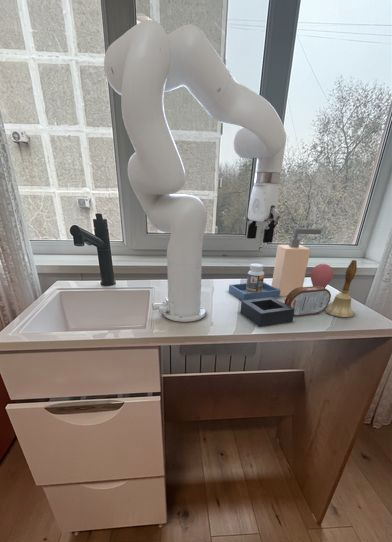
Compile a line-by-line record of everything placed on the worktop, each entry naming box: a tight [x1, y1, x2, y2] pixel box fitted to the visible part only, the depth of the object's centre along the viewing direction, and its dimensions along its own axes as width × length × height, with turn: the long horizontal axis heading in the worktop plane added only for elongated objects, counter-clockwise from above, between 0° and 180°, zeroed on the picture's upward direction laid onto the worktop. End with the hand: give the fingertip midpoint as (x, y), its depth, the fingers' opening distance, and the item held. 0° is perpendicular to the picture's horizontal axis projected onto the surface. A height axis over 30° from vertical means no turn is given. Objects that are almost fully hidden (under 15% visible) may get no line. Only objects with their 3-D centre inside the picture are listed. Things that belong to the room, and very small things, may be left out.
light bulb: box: [310, 263, 334, 289], centre depth 98 cm, size 7×7×12 cm
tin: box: [283, 285, 332, 317], centre depth 86 cm, size 15×3×8 cm, turn 109°
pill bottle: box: [246, 263, 265, 293], centre depth 101 cm, size 6×6×10 cm
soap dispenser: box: [271, 228, 323, 297], centre depth 102 cm, size 13×9×22 cm
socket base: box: [239, 297, 295, 328], centre depth 84 cm, size 11×11×4 cm
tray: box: [228, 281, 281, 301], centre depth 103 cm, size 14×11×3 cm
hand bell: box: [324, 259, 358, 318], centre depth 86 cm, size 8×8×16 cm
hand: (258, 240), depth 94 cm, fingers open, 9 cm apart
